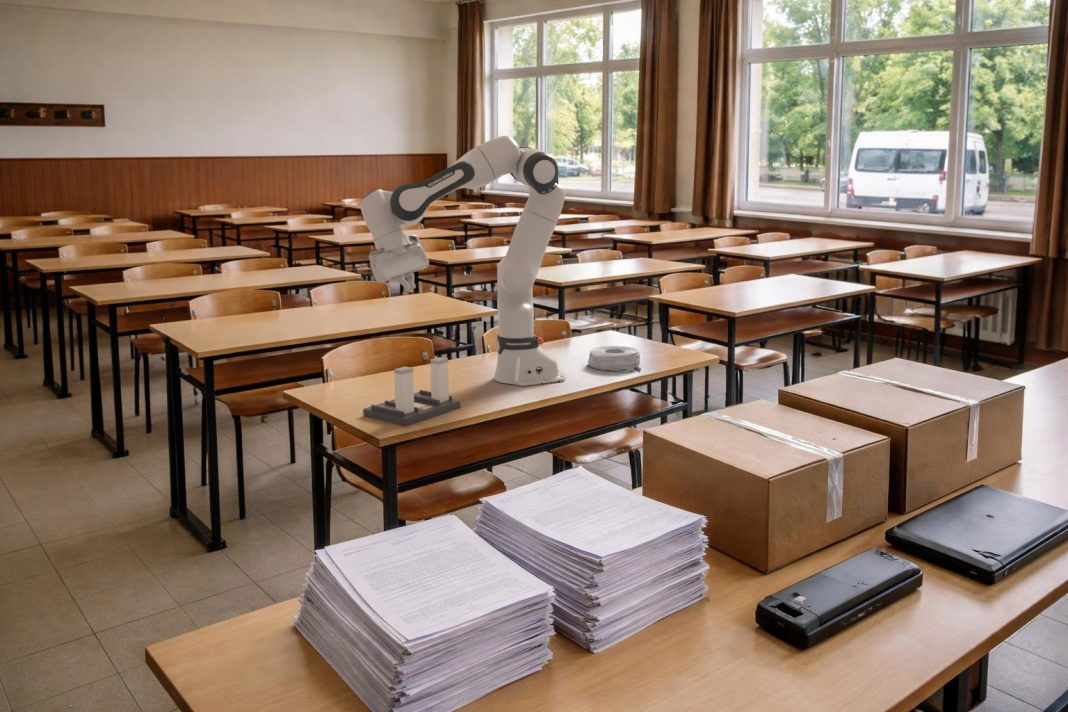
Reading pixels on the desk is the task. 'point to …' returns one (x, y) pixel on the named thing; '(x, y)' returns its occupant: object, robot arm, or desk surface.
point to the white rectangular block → (404, 389)
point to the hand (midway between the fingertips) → (410, 289)
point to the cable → (615, 358)
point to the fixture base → (422, 411)
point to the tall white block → (439, 379)
